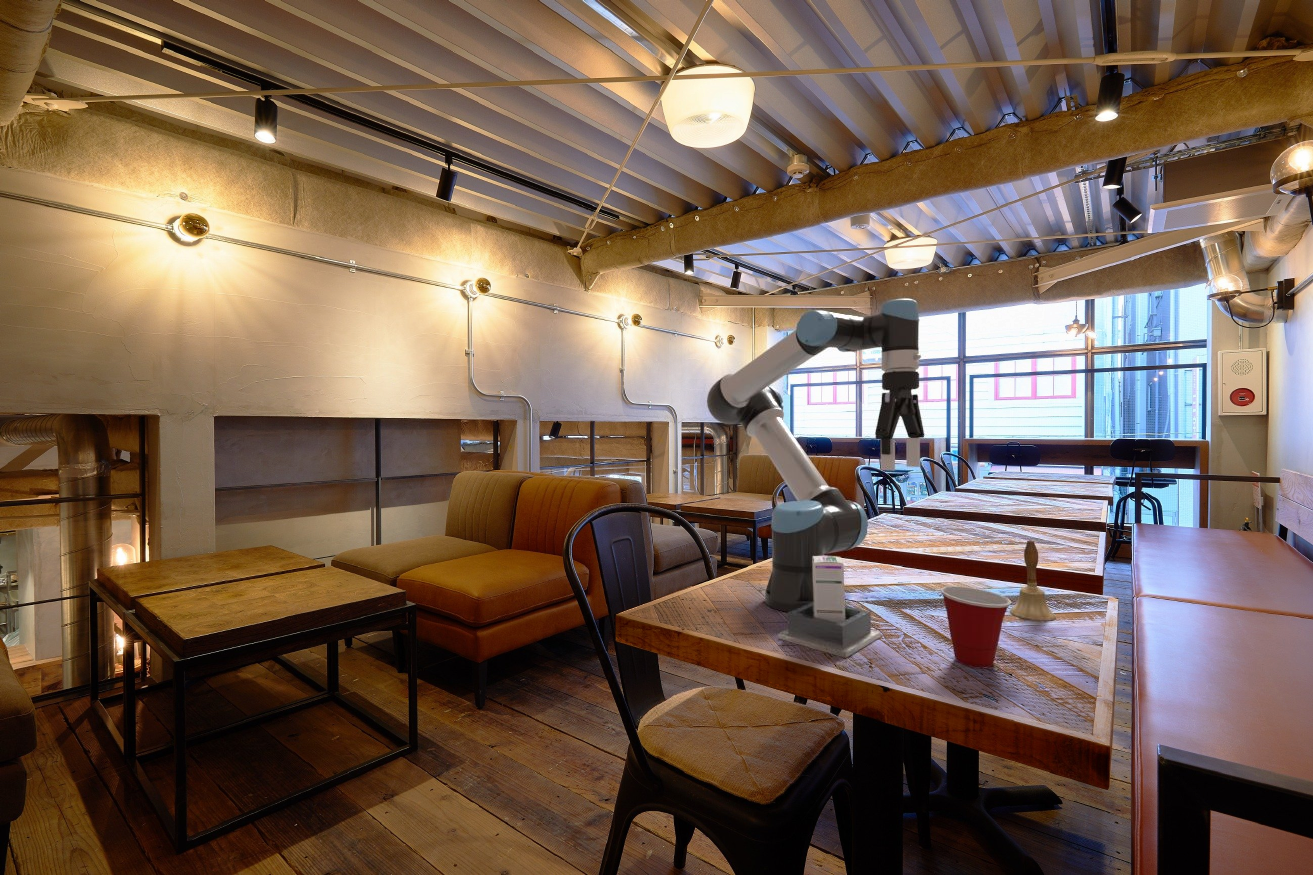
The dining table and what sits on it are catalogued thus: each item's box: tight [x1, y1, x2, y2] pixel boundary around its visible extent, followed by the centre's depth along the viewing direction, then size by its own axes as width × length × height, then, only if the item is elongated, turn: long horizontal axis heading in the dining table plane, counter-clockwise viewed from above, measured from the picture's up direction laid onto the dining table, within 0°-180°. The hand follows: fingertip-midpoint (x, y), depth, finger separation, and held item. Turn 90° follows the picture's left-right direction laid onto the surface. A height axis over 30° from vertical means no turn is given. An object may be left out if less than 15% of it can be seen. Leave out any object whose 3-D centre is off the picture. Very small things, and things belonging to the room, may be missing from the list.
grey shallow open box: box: [778, 602, 881, 659], centre depth 112 cm, size 14×14×5 cm
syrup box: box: [812, 555, 846, 623], centre depth 112 cm, size 6×6×14 cm
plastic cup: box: [940, 585, 1012, 669], centre depth 100 cm, size 11×11×12 cm
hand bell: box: [1009, 540, 1056, 622], centre depth 124 cm, size 8×8×16 cm
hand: (901, 468), depth 126 cm, fingers open, 13 cm apart
